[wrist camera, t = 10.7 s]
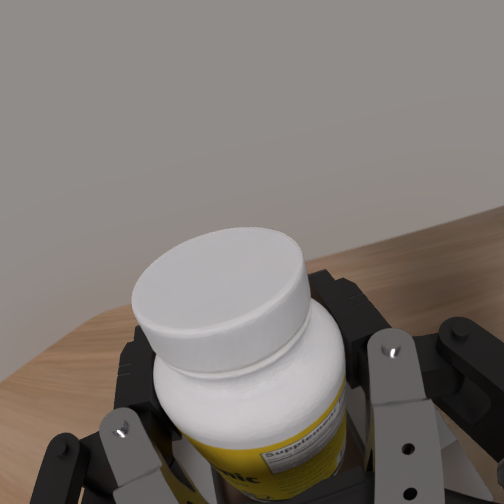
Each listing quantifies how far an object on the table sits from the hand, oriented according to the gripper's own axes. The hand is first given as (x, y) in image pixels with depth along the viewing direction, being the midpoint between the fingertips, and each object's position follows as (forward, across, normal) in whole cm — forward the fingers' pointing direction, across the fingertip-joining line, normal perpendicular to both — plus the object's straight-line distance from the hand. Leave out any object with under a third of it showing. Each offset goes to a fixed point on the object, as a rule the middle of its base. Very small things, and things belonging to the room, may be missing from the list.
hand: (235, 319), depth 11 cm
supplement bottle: (-3, 0, +6) cm, 7 cm away
